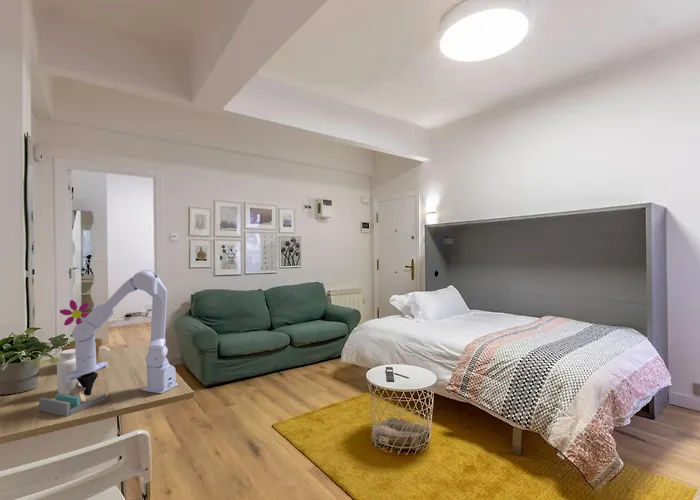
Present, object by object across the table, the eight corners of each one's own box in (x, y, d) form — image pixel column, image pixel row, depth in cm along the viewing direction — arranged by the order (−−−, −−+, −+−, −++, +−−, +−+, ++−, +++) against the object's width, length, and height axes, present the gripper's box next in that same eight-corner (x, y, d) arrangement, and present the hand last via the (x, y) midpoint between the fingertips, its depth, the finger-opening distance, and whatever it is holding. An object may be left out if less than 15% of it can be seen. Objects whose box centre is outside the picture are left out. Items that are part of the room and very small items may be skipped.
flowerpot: (55, 373, 149) (51, 301, 148) (73, 361, 163) (70, 296, 162) (94, 370, 152) (91, 300, 151) (108, 358, 166) (106, 294, 165)
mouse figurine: (61, 401, 124) (60, 382, 123) (89, 396, 127) (88, 378, 126) (55, 408, 119) (54, 388, 118) (84, 403, 122) (83, 384, 121)
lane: (106, 398, 125) (105, 387, 125) (67, 416, 113) (66, 403, 113) (80, 393, 129) (79, 382, 129) (39, 410, 117) (39, 398, 117)
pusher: (80, 407, 118) (80, 397, 118) (77, 409, 117) (76, 398, 117) (58, 403, 121) (58, 393, 121) (55, 405, 120) (54, 394, 120)
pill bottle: (55, 397, 126) (53, 355, 126) (61, 389, 134) (59, 349, 133) (83, 392, 130) (81, 351, 130) (87, 384, 137) (85, 346, 137)
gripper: (97, 349, 133) (99, 385, 134) (55, 362, 119) (57, 402, 120) (112, 350, 131) (113, 387, 131) (70, 364, 117) (72, 405, 118)
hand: (87, 394), depth 125 cm, fingers closed, pressing on mouse figurine
